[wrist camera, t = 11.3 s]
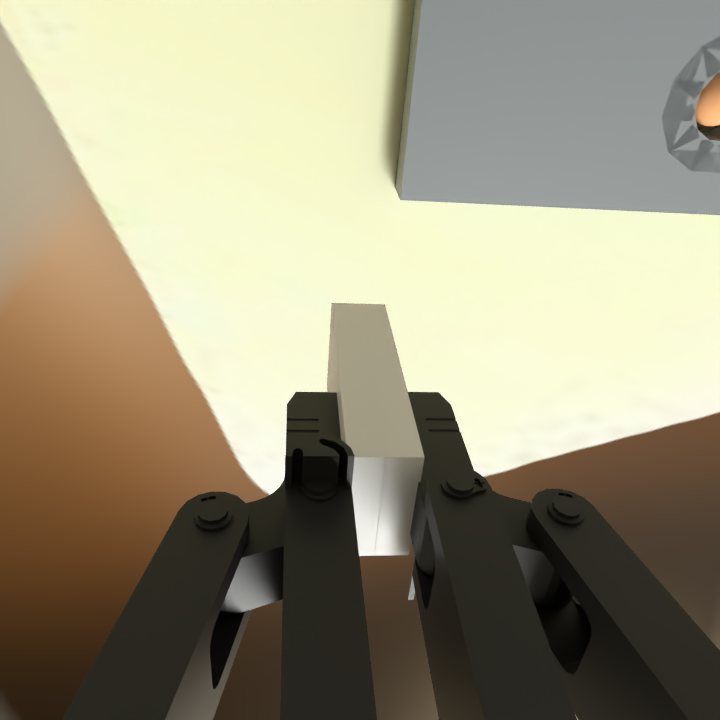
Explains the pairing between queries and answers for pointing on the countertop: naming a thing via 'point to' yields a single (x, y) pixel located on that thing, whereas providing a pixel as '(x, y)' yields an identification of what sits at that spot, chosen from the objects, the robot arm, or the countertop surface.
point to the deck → (561, 104)
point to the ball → (709, 103)
